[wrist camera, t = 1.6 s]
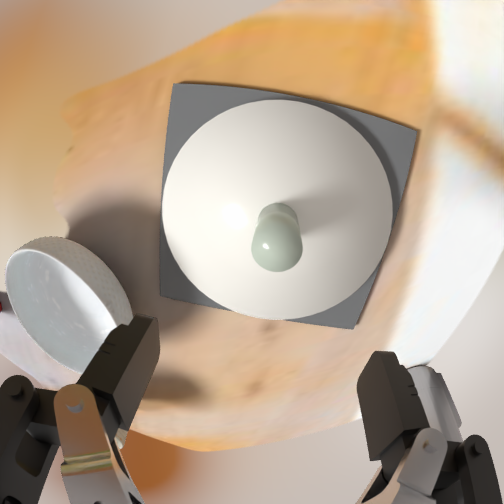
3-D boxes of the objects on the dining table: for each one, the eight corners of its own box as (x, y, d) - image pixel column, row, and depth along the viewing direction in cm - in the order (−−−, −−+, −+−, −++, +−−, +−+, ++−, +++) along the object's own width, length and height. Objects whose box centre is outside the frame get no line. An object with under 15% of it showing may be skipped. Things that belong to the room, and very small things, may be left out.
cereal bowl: (65, 331, 33) (40, 362, 27) (26, 224, 26) (-12, 248, 20) (164, 349, 32) (144, 392, 25) (131, 216, 25) (90, 246, 18)
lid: (411, 134, 19) (449, 140, 13) (350, 325, 27) (362, 367, 21) (178, 89, 19) (145, 79, 14) (164, 292, 27) (141, 331, 22)
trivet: (414, 131, 19) (417, 131, 18) (352, 325, 28) (353, 329, 27) (175, 84, 19) (173, 83, 19) (162, 292, 28) (160, 296, 27)
